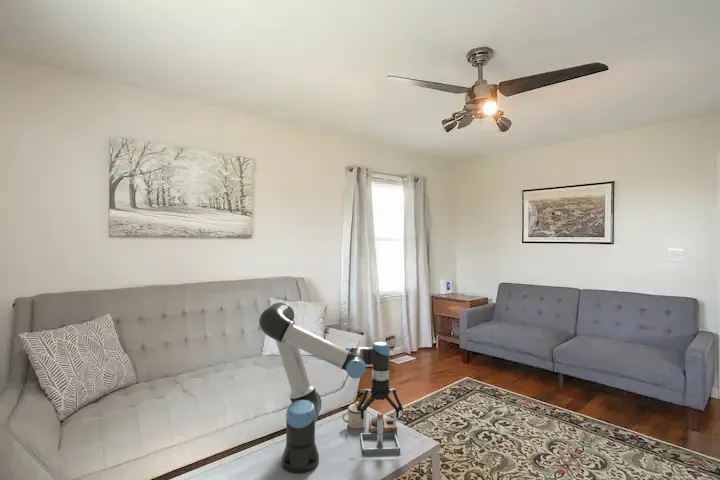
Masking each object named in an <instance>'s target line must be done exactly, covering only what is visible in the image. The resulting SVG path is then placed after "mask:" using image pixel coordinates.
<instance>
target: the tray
mask: <svg viewBox="0 0 720 480" xmlns="http://www.w3.org/2000/svg"><path fill="white" fill-rule="evenodd" d="M359 435H360V437H359V439H360V444H361V450H362V455H377V454H382V455H383V454H401V447H400V443H399V440H398V436H396V434H395V432H392V433H383V439H387V438H393V439H394V442H395V445H396V447H375V448H373V447H371V448H365V446H364V445H365V444H364V439H377V433H370V432H367V433H365V432H363V433H362V432H361V433H360V434H359Z"/></svg>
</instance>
